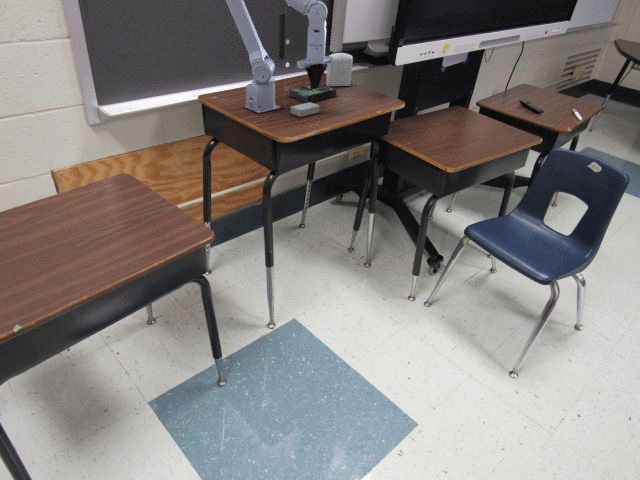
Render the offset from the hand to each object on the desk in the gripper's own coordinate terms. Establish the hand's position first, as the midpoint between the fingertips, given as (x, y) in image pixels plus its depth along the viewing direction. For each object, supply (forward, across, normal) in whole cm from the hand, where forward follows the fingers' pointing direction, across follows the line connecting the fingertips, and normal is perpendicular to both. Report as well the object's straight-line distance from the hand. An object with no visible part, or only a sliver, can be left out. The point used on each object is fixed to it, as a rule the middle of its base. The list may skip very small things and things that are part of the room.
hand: (314, 88), depth 150 cm
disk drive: (+8, +12, +12) cm, 19 cm away
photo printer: (+8, +31, +17) cm, 36 cm away
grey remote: (+6, 0, 0) cm, 6 cm away
